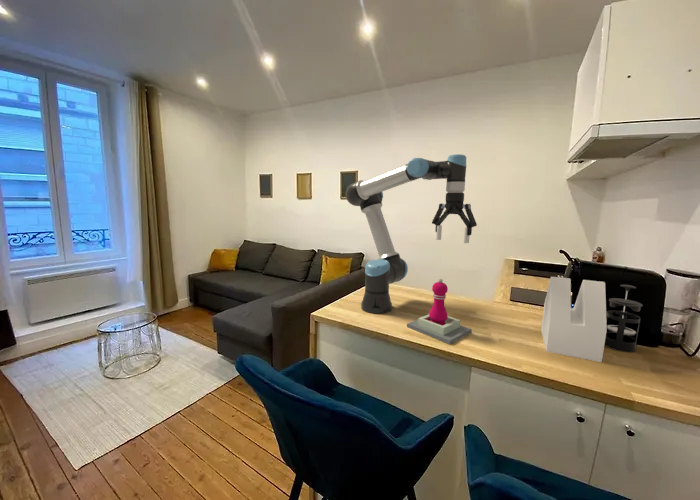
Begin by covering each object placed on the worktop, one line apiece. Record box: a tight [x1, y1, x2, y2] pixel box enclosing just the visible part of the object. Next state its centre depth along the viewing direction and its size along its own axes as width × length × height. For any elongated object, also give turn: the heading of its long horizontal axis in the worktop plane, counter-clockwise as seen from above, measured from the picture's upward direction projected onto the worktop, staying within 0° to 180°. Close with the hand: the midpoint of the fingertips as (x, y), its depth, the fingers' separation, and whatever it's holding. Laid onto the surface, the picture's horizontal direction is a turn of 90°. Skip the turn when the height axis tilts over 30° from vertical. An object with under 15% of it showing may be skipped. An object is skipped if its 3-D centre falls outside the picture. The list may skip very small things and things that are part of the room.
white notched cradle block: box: [540, 276, 608, 363], centre depth 109 cm, size 19×15×25 cm
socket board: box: [406, 313, 473, 345], centre depth 123 cm, size 20×16×4 cm
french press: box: [604, 284, 644, 353], centre depth 109 cm, size 12×9×23 cm
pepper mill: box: [428, 278, 448, 326], centre depth 121 cm, size 7×7×20 cm
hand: (452, 241), depth 132 cm, fingers open, 13 cm apart
